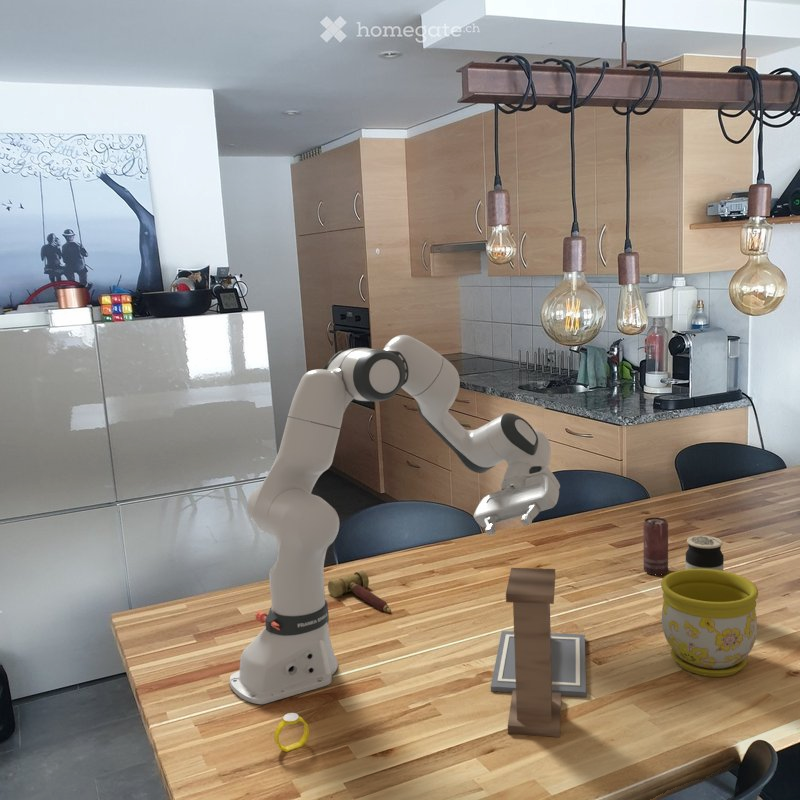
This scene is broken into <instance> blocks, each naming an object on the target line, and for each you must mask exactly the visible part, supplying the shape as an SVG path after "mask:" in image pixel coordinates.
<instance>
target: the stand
mask: <svg viewBox="0 0 800 800" xmlns="http://www.w3.org/2000/svg"><path fill="white" fill-rule="evenodd" d="M555 588H556V568H538V567H537V568H534V567H532V568H530V567H529V568H528V567H511V568H510V572H509V578H508V581H507V586H506V591H505V603H512V608H513V610H512V611H513V616H512V617H513V631H514V645H515V675H516V690H513V692H511V700H510V707H509V713H508V714H509V715H508V722H507V734H510V735H512V734H513V735H524V736H526V735H527V736H536V737H537V736H539V737H554V738H561V721H562V720H561V717H562V716H561V715H562V696H561V693H552V665H551V633H552V632H551V605H554V604H555V592H556V591H555V590H556V589H555Z"/></svg>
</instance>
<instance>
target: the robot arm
mask: <svg viewBox="0 0 800 800" xmlns="http://www.w3.org/2000/svg"><path fill="white" fill-rule="evenodd" d="M460 382H461V381H460V375H459V372H458V370H457V368H456V367H455V365H453V364H452V362H451V361H450V360H448V359H447V358H445V356H443V355H441V354H440V353H439V352H438V351H436V350H435V349H433V348H432V347H430V346H429V345H427V344H425V343H424V342H422V341H421V340H419V339H416V338H414V337H413V336H411V335H408V334H399V335H396V336H394V337H393V338H392V339H389V341H388V342H387V343H386V344H385V345H384V348H383V349H375V348H374V349H373V348H369V347H355V348H351V347H350V348H345V349H342V350H340V351H338V352H337V353H335V354H334V355H333V356H332V357H331V358H330V359H329V361H328V363H327V364H326V365H325V366H324V367H323V368H317V369H311V370H309V371H307V372H306V373H305V374H303V375H302V377H301V379H300V381H299V383H298V385H297V388H296V390H295V393H294V395H293V398H292V401H291V403H290V407H289V411H288V414H287V419H286V423H285V426H284V430H283V435H282V438H281V441H280V446H279V449H278V453H277V455H276V457H275V460H274V462H273V464H272V466H271V468H270V469H269V472H268V473H267V474H266V477H265V479H263V481H262V483H261V484H260V485H259V486H257V487H256V488H255V489H254V490H253V491H252V492H251V494H250V495H249V498H248V501H247V505H246V506H247V507H246V509H247V514H248V516H249V518H250V519H251V521H252V522H253V523H254V525H255V526H256V527H257V528H258V529H259V530H260V531H261V532H263V533H264V534H267V535H269V536H271V537H272V538H274V539H275V540H276V543H277V546H278V547H277V548H278V549H277V557H276V562H275V563H274V564H273V565H272V567H271V568H270V570H269V574H268V575H269V576H268V577H269V589H270V591H269V592H270V600H271V601H270V602H271V606H270V608H269V611H268V614H267V613H265V612H264V611H263V610H259V611H257V612H256V613H255V615H254V616H255V617H254V618H255V620H256V621H258V622H260V623H262V624H264V623H265V626H264V628H263V629H262V630H261V631H260V632H259V633H258V634H257V635H256V637H254V639H253V640H252V641H251V642H250V643H249V645H247V646H246V648H244V650H243V651H242V652H241V655H240V662H239V670H238V671H235V672H234V673H231V674H230V677H229V685H230V688H231V689H230V690H232V691H233V693H235V694H236V695H237V696H238V698H240V699H242V700H244V701H246V702H248V703H252V704H255V705H256V704H257V705H265V704H269V703H272V702H276V701H278V700H279V701H280V700H282V699H285V698H289V697H293V696H296V695H300V694H303V693H306V692H309V691H312V690H316V689H319V688H324V687H326V686H329V685H330V684H331V683H332V679H333V675H334V674H335V672H336V671H337V670H338V666H339V663H338V659H337V658H336V655H335V652H334V649H333V645H332V641H331V637H330V632H329V630H330V629H329V622H330V621H329V620H330V618H329V608H328V607H329V606H328V601H327V600H326V595H325V594H326V592H325V575H324V566H325V560H326V554H327V550H328V548H329V547H330V545H332V544H333V542H334V541H335V540H336V538H337V537H338V536H337V535H338V534H339V529H340V518H339V515H338V512H337V511H336V509H335V508H334V507H333V506H332V505H331V504H329V502H327V501H326V500H325V499H324V498H322V497H321V496H319V495H316V494H313V493H312V492H313V488H314V487H315V485H316V483H317V481H318V479H319V478H320V476H321V475H322V474H323V473H324V472H326V471H327V470H329V469H330V467H331V466H332V464H333V461H334V457H335V453H336V447H337V445H338V442H339V441H338V440H339V436H340V431H341V427H342V423H343V419H344V413H346V412H345V411H346V409H347V407H348V406H349V404H350V403H351V402H352V401H353V400H356V401H361V402H374V403H375V402H378V403H379V402H383V401H387V400H389V399H391V398H392V397H394V396H395V395H396V394H397V393H398V392H399V391H401V390H403V391H404V392H406V393H408V394H409V395H410V396H411V397H412V398H414V399H413V400H415V401H416V402H417V411H418V414H419V415H420V417H421V419H422V420H423V421H424V422H425V424H426V425H428V427H429V428H430V429H431V430H432V431H433V432H434V433H435V434H436V435H437V436H438V437H439V438H440V439H441V440H442V441H443V442H444V443H445V444H446V445H447V446H448V447H449V448H450V449H451V450H452V451H453V452H454V453H455V454H456V457H457V458H458V459H459V461H460V462H461V463H462V464H463V466H464V467H465V468H466V469H468V470H470V471H472V472H474V473H478V474H483V473H485V472H487V471H489V470H491V469H493V468H494V467H495V466H497V465H499V464H501V463H503V462H506V463H507V468H506V470H505V473H504V475H503V479H502V481H501V485H500V487H501V488H500V489H501V490H498V491H494V492H492V493H488V494H487V495H485V496H483V497H482V498H481V500H480V501H479V503H478V505H477V506H476V509H475V510H474V513H473V518H474V520H475V521H476V522H477V524H478V525H479V526H480V527H482V528H485V529H484V531H485V533H486V535H487V536H493V535H495V534H496V531H497V528H496V527H495V525H497V524H500V523H504V522H506V521H507V522H508V521H511V520H514V519H518V518H521V519H520V521H521V523H522V524H523V526H525V527H526V526H530V525H532V523H533V520H534V519H535V518H536V517H537V516H538V515H539V513H540V512H544V511H547V510H549V509H550V510H551V509H553V508H554V507H555V506H557V503H558V500H559V497H560V489H561V484H560V482H559V480H558V479H557V478H556V476H555V474H554V473H553V472H552V471H551V470H550V468H549V465H550V464H549V463H550V460H551V453H552V451H551V444H550V443H551V442H550V440H549V438H548V437H547V436H546V435H545V434H544V433H543V432H541V431H540V430H537V429H535V428H533V427H532V425H531V424H530V423H529V422H528V421H527V420H525V419H524V418H523V417H521V416H519V415H517V414H515V413H511V412H505V413H504V414H502V415H500V416H498V417H496V418H494V419H493V420H491V421H489V422H487V423H486V424H483V425H482V426H480V427H478V428H476V429H472V430H471V429H466V428H464V427H463V425H461V423H460V422H459V421H458V420H457V419H456V418H455V417H454V416H453V415H452V414H451V413H450V412H449V410H450V408H451V407H452V406H453V404H454V402H455V400H456V399H457V397H458V394H459V391H460V384H461V383H460ZM400 389H401V390H400Z"/></svg>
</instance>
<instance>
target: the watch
mask: <svg viewBox="0 0 800 800" xmlns="http://www.w3.org/2000/svg"><path fill="white" fill-rule="evenodd" d="M298 722H301V723H303V727H304V730H303V734H302V736H301V737H300V738H299V741H297V742H294V743H292V744H289V745H286V746H284V745H282V744H280V734H281V732H282V730H283V729H284V728H285V727H286V725H289V726H290V725H296V724H297V723H298ZM273 734H274V742H275V743H276V745H277V747H278V748H279V749H280V750H281V751H282V752H285V753H288V752H291V751H293V750H296V749H299V748H302V747H303V746H304V745H305V743H306V742H307V741H308V738H309V735H310V728H309V725H308V723H307V722H306V720H304V718H303V717H302V716H301V715H299V714H298V713H296V712H288V713H286V714H284V715H283V717H282V720H281V721H280V722H279V723H278V725H277V726H276V728H275V731H274V733H273Z"/></svg>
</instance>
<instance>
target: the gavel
mask: <svg viewBox="0 0 800 800" xmlns="http://www.w3.org/2000/svg"><path fill="white" fill-rule="evenodd" d="M369 581H370V580H369V575H368V574H367V573H366V571H365V570H359V571H355V572H354V573H353V574H350V575H347V576H343V577H341V578H334V579H330V580H329V581H328V583H327V589H328V593H329V595H330V596H331V597H333V598H338V597H342V596H343V594H347V593H350V592H352V593H354V595H355V596H357V597H359V598H360V599H361V600H363V601H364V602H366V603H368V604H369V605H370V606H372V607H374V608H375V609H377V610H378V611H380V610H381V612H385V613H386V612H387V613H390V612H391V611H392V609H391V608H390V606H389V605H388V603H387V601H385V600H384V599H382V598H380V597H379V596H377V595H376V594H374V593H373V592H371V591H369V590H368V589H366V588H368V587H369V584H370V583H369Z"/></svg>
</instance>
